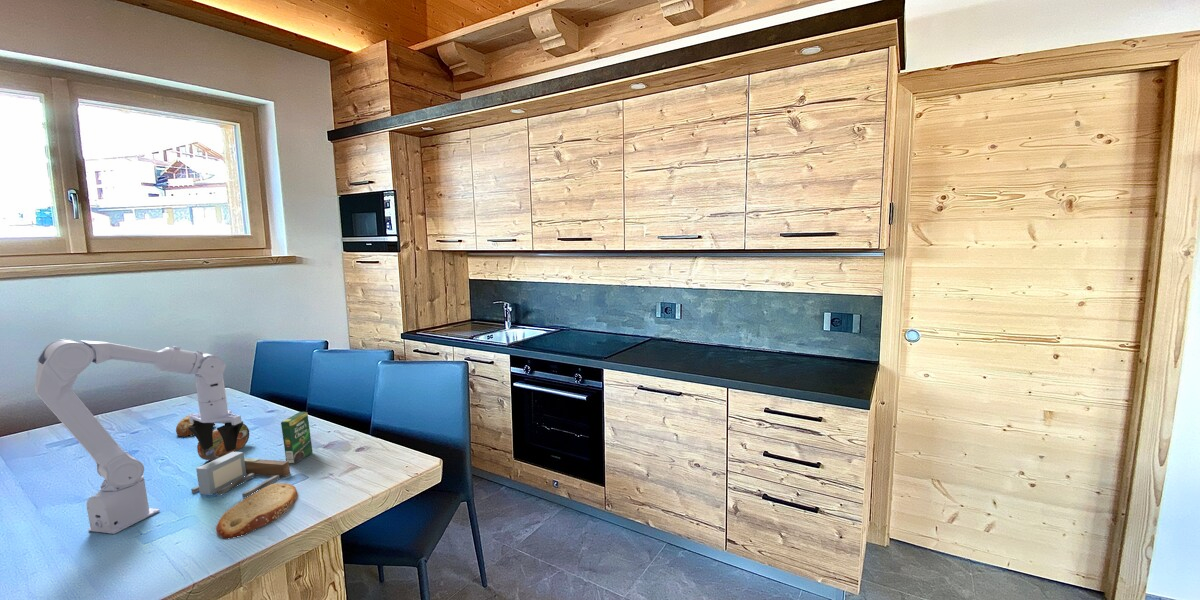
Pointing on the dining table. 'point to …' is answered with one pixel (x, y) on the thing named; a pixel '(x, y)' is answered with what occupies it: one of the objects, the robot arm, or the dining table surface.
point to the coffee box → (296, 437)
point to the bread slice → (257, 510)
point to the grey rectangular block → (221, 472)
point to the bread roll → (184, 427)
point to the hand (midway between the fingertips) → (219, 449)
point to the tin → (218, 445)
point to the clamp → (260, 468)
